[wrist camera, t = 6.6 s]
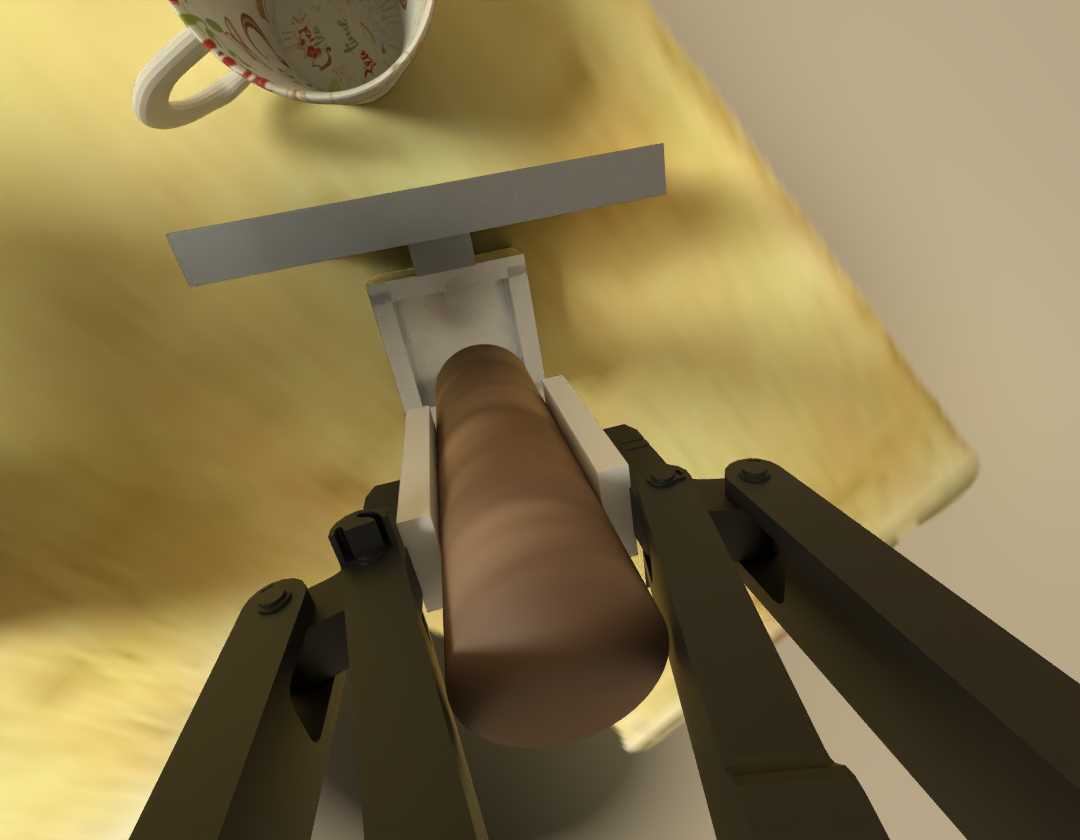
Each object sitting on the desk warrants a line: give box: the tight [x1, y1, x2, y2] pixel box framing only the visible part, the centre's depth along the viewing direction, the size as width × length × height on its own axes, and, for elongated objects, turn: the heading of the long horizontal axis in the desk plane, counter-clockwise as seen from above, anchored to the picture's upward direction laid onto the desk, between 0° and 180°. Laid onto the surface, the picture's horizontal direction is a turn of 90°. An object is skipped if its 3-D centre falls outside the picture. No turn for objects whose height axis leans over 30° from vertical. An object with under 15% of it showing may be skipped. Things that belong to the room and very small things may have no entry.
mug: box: [132, 0, 436, 129], centre depth 20 cm, size 8×13×10 cm, turn 126°
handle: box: [435, 344, 669, 748], centre depth 15 cm, size 4×4×14 cm
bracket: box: [166, 143, 666, 424], centre depth 24 cm, size 16×12×12 cm
